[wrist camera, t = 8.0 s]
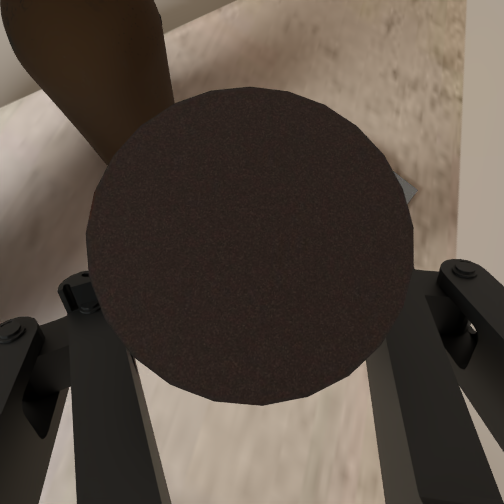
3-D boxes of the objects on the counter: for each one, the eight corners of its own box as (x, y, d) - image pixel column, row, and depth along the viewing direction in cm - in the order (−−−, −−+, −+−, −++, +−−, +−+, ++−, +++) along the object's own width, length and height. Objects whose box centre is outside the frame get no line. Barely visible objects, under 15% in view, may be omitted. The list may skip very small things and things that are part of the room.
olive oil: (158, 198, 39) (41, -18, 15) (74, 158, 40) (-172, -116, 15) (202, 123, 42) (164, -170, 17) (123, 85, 42) (-23, -252, 18)
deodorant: (167, 283, 21) (27, 176, 6) (252, 233, 22) (300, 41, 7) (218, 372, 20) (194, 485, 5) (304, 315, 21) (478, 283, 6)
